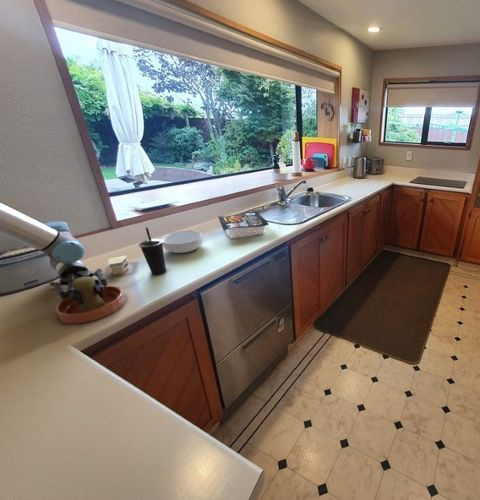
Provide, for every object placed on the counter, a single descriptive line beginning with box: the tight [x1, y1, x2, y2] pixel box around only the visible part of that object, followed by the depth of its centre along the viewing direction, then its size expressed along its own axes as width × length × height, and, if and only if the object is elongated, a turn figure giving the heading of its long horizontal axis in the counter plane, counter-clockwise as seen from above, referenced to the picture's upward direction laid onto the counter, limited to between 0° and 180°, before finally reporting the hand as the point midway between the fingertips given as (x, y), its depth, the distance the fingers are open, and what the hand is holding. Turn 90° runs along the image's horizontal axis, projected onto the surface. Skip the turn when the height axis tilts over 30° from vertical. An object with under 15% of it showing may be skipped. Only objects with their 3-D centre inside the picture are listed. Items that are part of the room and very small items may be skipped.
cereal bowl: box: [160, 230, 204, 254], centre depth 133 cm, size 17×17×7 cm
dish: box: [55, 285, 126, 325], centre depth 91 cm, size 16×16×4 cm
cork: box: [72, 277, 105, 313], centre depth 89 cm, size 6×6×11 cm
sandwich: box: [107, 255, 130, 276], centre depth 113 cm, size 10×9×6 cm
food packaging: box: [217, 211, 270, 240], centre depth 157 cm, size 25×8×23 cm
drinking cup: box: [138, 226, 167, 276], centre depth 110 cm, size 8×8×20 cm
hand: (91, 297), depth 86 cm, fingers closed on cork, 4 cm apart
